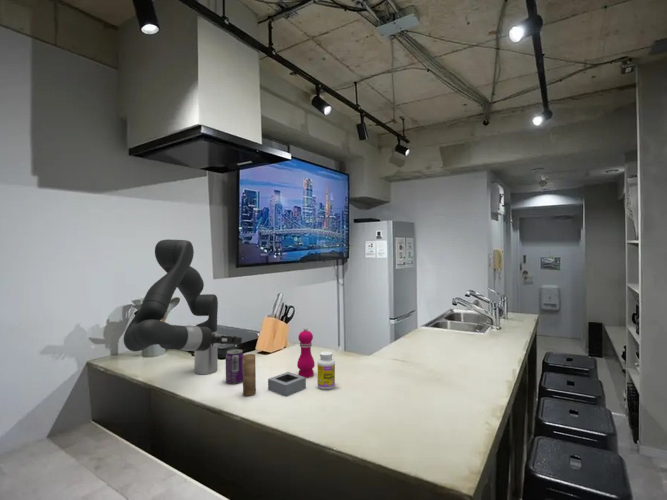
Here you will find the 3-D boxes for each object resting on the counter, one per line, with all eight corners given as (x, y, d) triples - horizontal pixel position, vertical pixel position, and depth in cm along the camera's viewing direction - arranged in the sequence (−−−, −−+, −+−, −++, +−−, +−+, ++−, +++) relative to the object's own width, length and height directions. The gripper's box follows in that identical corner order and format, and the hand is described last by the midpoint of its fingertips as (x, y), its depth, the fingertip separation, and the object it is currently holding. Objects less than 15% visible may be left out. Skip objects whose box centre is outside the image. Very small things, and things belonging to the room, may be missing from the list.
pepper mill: (312, 378, 147) (311, 329, 147) (295, 377, 148) (294, 328, 148) (316, 372, 154) (316, 325, 154) (300, 371, 156) (299, 325, 155)
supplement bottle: (322, 391, 134) (321, 356, 134) (314, 385, 140) (314, 352, 140) (338, 388, 137) (337, 354, 137) (330, 382, 143) (329, 349, 143)
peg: (240, 394, 132) (240, 355, 132) (250, 390, 135) (250, 353, 135) (248, 397, 129) (247, 358, 129) (258, 393, 132) (257, 355, 132)
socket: (268, 389, 136) (268, 378, 136) (288, 381, 144) (288, 371, 144) (285, 396, 130) (285, 385, 130) (305, 388, 137) (305, 377, 137)
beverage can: (247, 379, 147) (247, 350, 147) (236, 385, 140) (235, 354, 140) (234, 377, 150) (233, 348, 150) (222, 383, 143) (221, 352, 143)
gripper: (210, 326, 111) (248, 329, 124) (180, 326, 118) (219, 329, 131) (206, 351, 109) (245, 352, 122) (176, 349, 116) (216, 351, 129)
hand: (232, 340), depth 126 cm, fingers open, 8 cm apart
